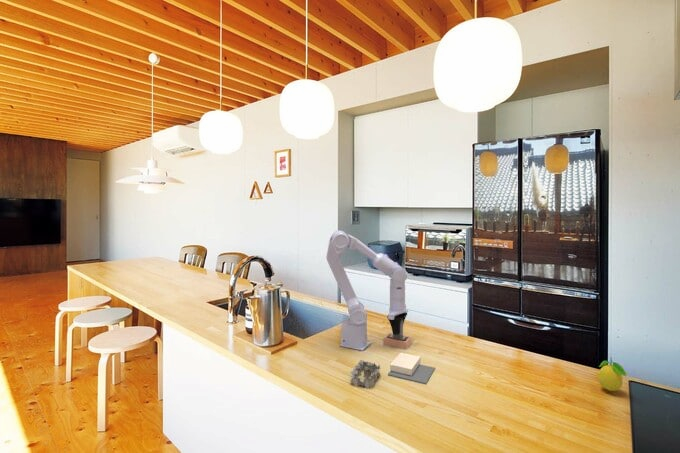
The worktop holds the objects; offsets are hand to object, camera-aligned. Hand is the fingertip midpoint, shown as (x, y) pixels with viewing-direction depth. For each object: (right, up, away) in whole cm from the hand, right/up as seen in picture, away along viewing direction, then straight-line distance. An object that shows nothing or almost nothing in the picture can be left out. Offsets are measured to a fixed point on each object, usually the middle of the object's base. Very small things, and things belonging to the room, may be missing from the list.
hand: (397, 332), depth 134 cm
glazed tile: (+2, -4, -15) cm, 16 cm away
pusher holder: (0, -4, 0) cm, 4 cm away
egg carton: (-14, -7, -26) cm, 30 cm away
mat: (+1, -6, -22) cm, 23 cm away
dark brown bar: (0, -5, 0) cm, 5 cm away
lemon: (+55, -7, -34) cm, 65 cm away
